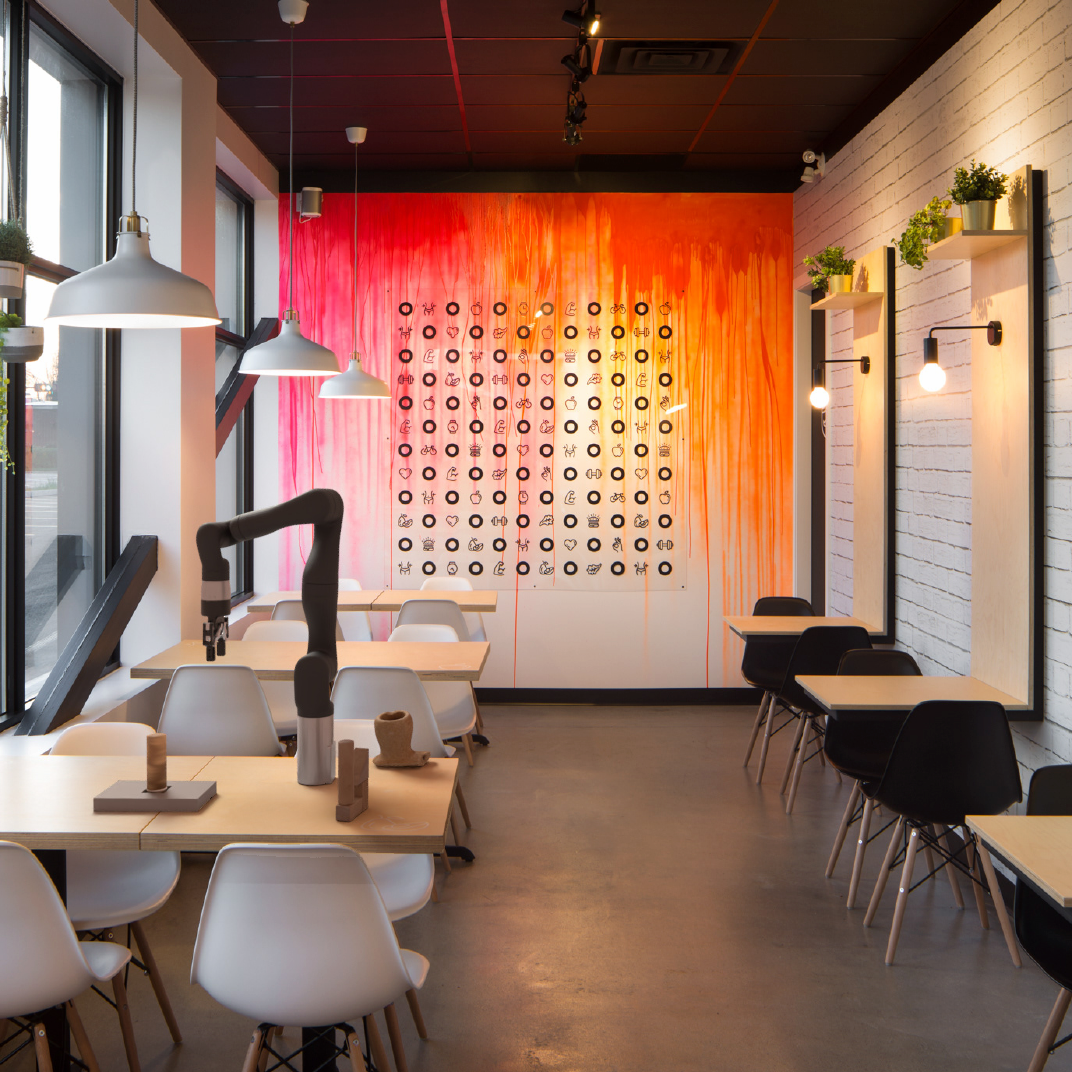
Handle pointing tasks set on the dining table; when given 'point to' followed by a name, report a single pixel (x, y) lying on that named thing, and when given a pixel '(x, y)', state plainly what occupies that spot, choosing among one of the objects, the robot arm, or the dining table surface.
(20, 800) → the dining table surface
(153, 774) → the oak peg
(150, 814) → the dining table surface
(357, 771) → the wooden block
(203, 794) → the grayish brown board
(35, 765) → the dining table surface
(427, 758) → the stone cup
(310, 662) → the robot arm
